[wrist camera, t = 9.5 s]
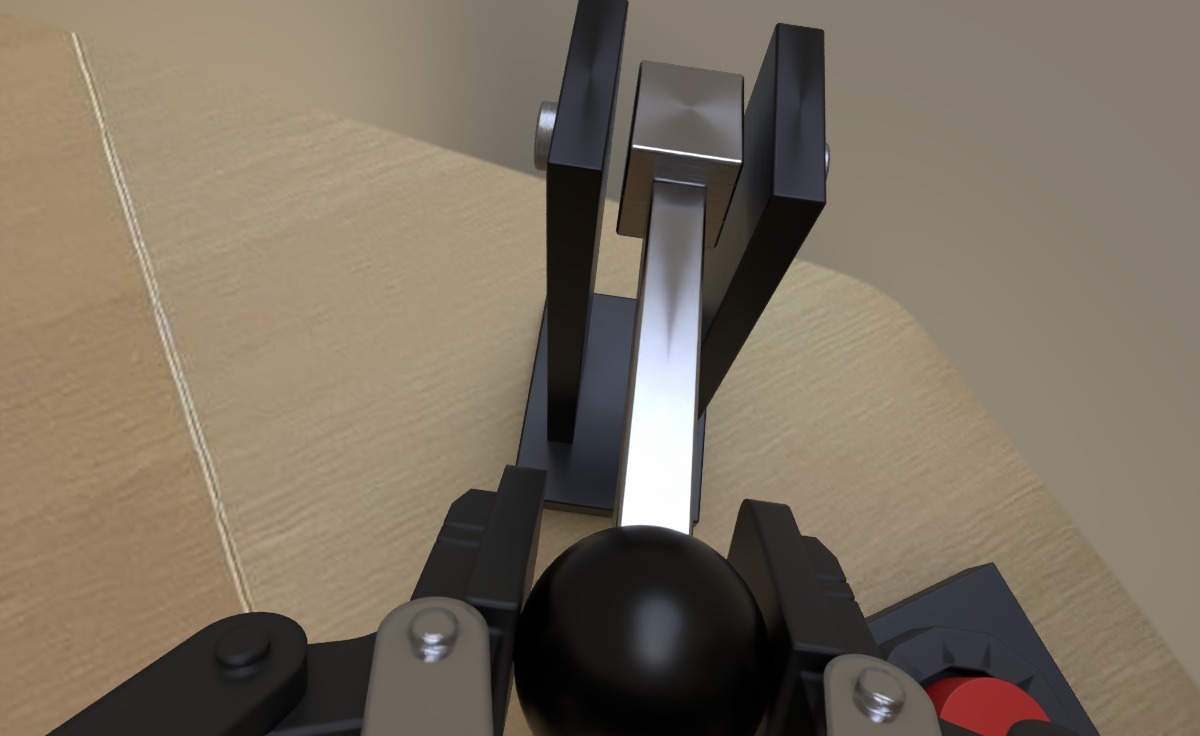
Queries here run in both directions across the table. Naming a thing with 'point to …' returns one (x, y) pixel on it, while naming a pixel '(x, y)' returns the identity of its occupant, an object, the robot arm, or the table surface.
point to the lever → (656, 471)
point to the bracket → (731, 270)
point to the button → (983, 704)
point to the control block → (975, 642)
